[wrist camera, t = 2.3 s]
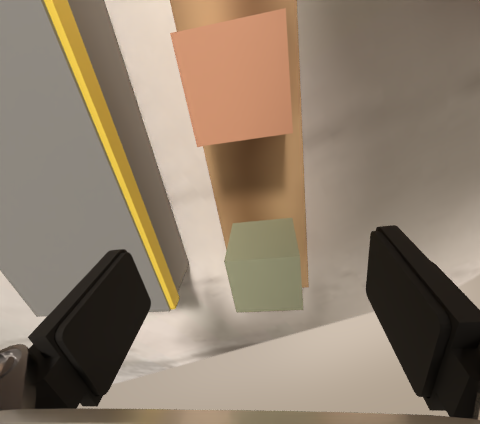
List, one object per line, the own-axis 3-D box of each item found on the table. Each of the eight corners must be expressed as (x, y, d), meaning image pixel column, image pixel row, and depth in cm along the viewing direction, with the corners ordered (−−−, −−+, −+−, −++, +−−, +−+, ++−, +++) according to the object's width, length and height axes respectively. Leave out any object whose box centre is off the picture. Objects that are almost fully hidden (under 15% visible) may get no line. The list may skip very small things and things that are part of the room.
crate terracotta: (279, 29, 13) (285, 8, 9) (285, 118, 15) (293, 132, 11) (197, 46, 14) (170, 33, 10) (214, 129, 16) (197, 146, 12)
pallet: (288, -12, 15) (295, -38, 12) (302, 257, 25) (308, 287, 21) (189, 11, 16) (168, -7, 13) (239, 262, 26) (235, 290, 22)
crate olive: (292, 217, 18) (299, 256, 14) (295, 264, 20) (303, 309, 16) (232, 223, 19) (224, 261, 15) (241, 268, 21) (236, 312, 17)
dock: (80, -93, 14) (-30, -195, 9) (192, 263, 26) (174, 310, 21) (-103, -35, 16) (-282, -89, 11) (79, 271, 28) (36, 316, 23)
